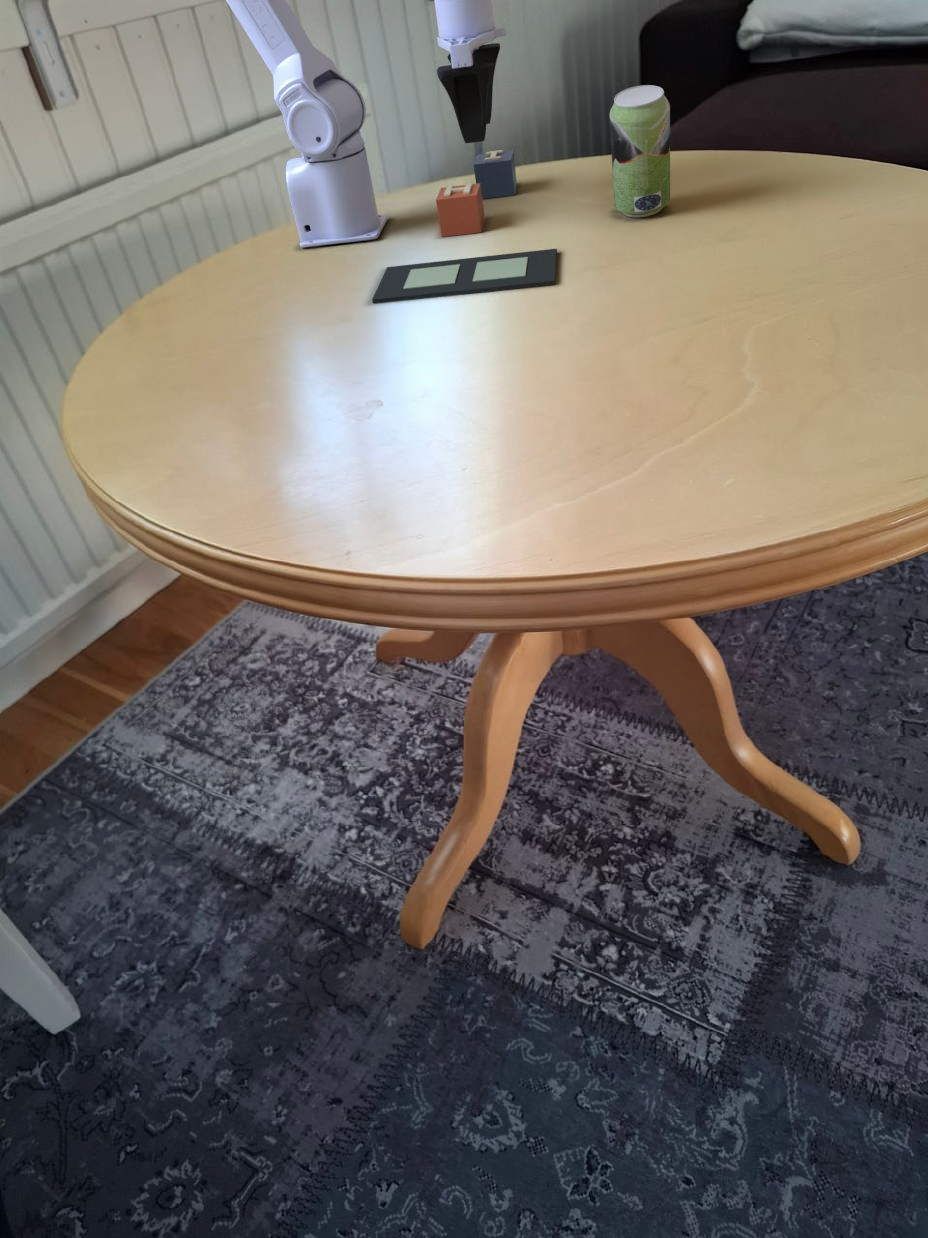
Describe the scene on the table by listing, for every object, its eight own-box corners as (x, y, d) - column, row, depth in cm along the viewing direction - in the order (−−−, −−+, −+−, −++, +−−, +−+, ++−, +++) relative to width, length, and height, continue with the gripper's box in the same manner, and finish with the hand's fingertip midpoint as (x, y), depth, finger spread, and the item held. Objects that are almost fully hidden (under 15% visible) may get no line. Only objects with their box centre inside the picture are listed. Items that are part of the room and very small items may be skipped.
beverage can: (668, 199, 99) (669, 76, 91) (673, 220, 94) (675, 91, 86) (611, 206, 100) (607, 85, 92) (613, 227, 95) (609, 100, 87)
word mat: (372, 303, 88) (371, 298, 87) (387, 270, 94) (386, 265, 94) (555, 284, 85) (554, 279, 84) (557, 252, 91) (556, 247, 91)
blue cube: (477, 199, 110) (473, 161, 107) (481, 188, 113) (476, 151, 110) (514, 194, 109) (511, 156, 106) (516, 184, 112) (513, 147, 110)
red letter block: (441, 236, 100) (435, 196, 98) (446, 223, 104) (440, 184, 101) (481, 232, 100) (476, 191, 97) (484, 219, 103) (480, 179, 100)
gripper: (496, -19, 81) (511, 144, 90) (505, -35, 92) (518, 112, 100) (420, -7, 82) (442, 153, 91) (439, -25, 93) (457, 120, 102)
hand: (478, 132), depth 96 cm, fingers open, 7 cm apart
